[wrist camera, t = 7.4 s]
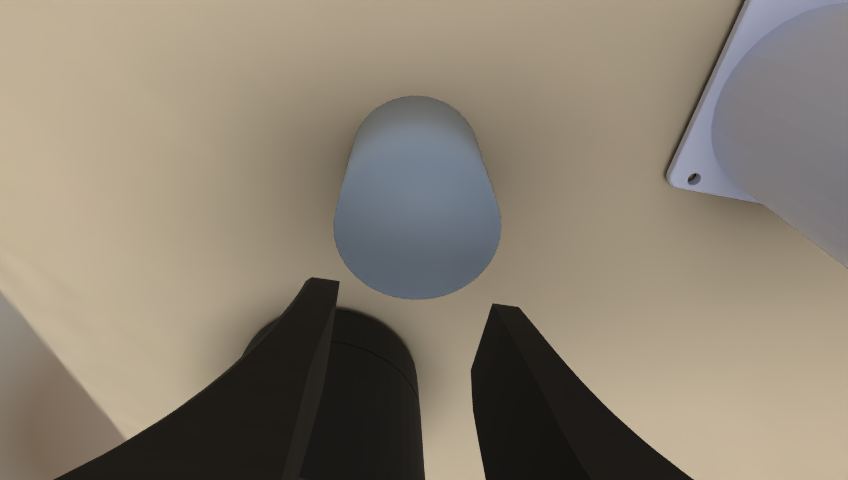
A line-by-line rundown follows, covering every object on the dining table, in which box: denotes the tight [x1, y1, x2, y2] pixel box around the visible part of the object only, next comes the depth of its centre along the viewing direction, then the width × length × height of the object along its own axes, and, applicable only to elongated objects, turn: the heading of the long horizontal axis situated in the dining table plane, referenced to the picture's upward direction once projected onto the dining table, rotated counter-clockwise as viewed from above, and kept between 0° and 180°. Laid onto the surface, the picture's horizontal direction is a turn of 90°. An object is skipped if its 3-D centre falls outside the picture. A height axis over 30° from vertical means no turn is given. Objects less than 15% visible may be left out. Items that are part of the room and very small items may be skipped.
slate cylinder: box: [334, 96, 501, 299], centre depth 19 cm, size 5×5×6 cm
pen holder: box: [243, 310, 425, 480], centre depth 22 cm, size 9×9×10 cm
